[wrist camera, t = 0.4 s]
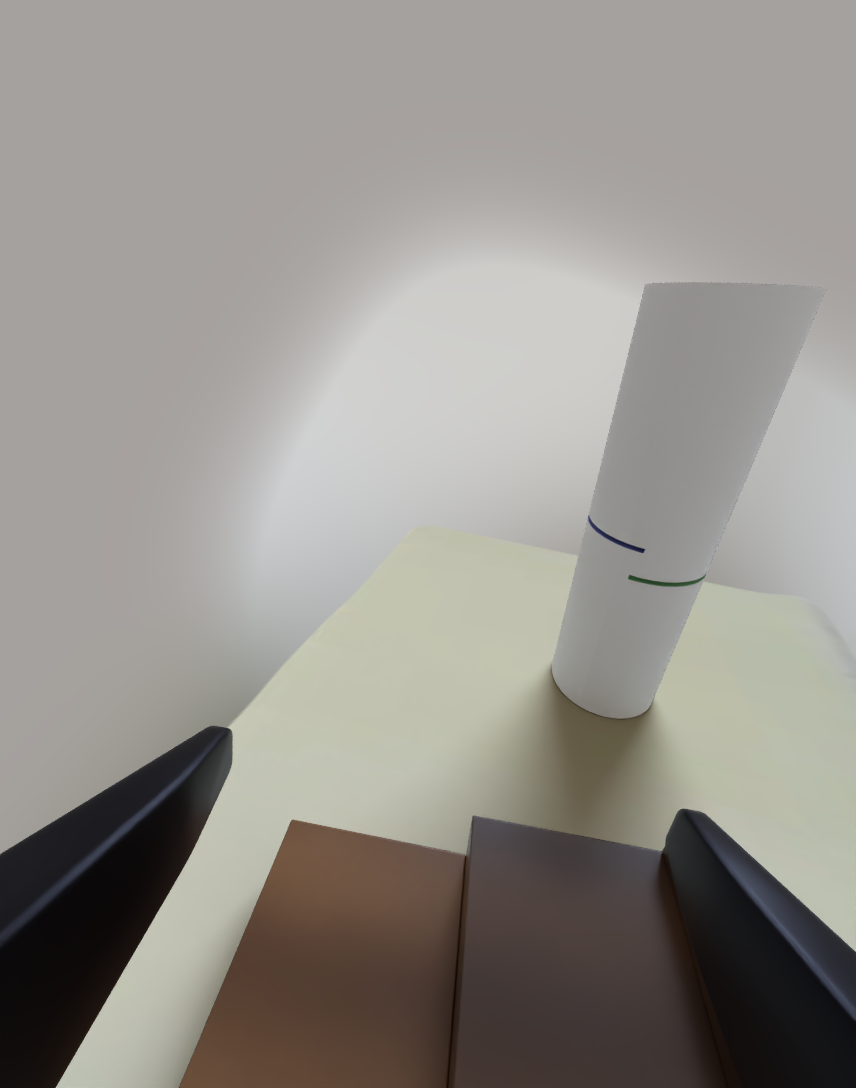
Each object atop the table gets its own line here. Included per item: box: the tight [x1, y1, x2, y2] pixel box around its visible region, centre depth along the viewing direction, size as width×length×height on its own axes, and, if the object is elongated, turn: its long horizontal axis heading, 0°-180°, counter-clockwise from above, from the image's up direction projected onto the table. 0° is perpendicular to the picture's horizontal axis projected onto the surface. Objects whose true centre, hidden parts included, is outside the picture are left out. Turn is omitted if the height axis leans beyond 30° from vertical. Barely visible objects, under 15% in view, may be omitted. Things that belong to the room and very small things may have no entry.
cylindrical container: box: [552, 282, 826, 719], centre depth 26 cm, size 7×7×25 cm
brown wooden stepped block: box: [179, 816, 741, 1088], centre depth 14 cm, size 11×16×8 cm
